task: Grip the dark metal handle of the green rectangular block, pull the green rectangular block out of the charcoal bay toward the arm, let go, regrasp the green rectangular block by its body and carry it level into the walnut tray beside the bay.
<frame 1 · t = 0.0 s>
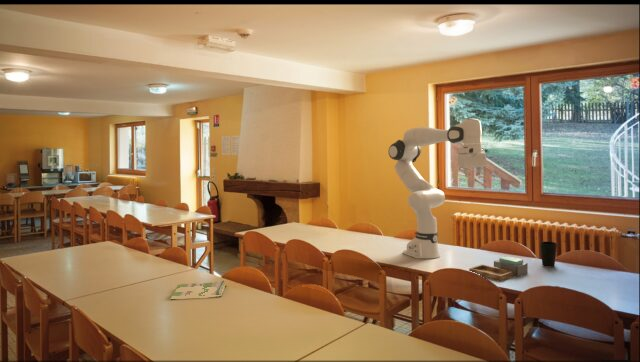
hand: (472, 176, 220), 48 cm above the table, tool pointing down, fingers open, 8 cm apart
cup: (548, 266, 221), on the table
bay: (512, 272, 211), on the table
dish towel: (199, 294, 197), on the table
tray: (491, 274, 209), on the table
green rectangular block: (511, 272, 212), on the table
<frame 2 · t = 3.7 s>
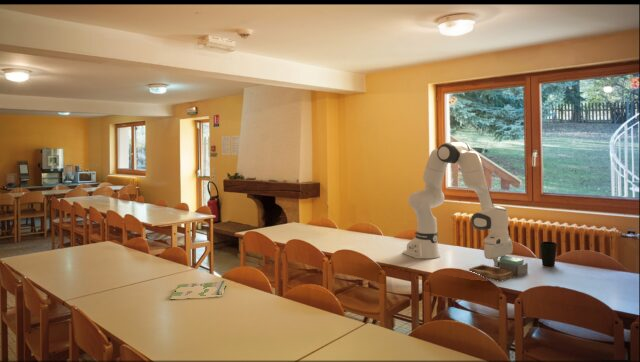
hand: (499, 264, 217), 3 cm above the table, tool pointing down, fingers closed on green rectangular block, 3 cm apart
green rectangular block: (511, 272, 212), on the table, touching gripper
everything else where it was.
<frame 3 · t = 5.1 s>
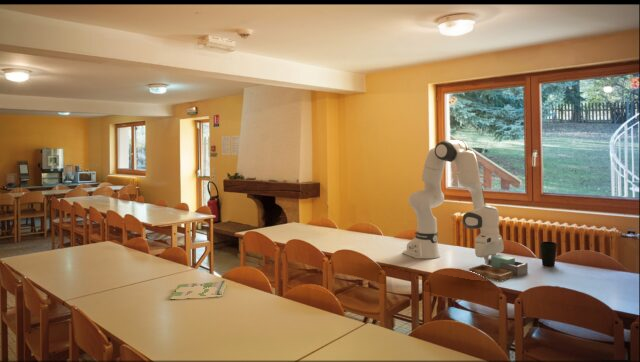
hand: (489, 262, 221), 2 cm above the table, tool pointing down, fingers closed on green rectangular block, 3 cm apart
green rectangular block: (503, 270, 215), on the table, touching gripper
everything else where it was.
when the fingers open (3 cm above the table, at t = 6.4 s): green rectangular block stays where it is, on the table.
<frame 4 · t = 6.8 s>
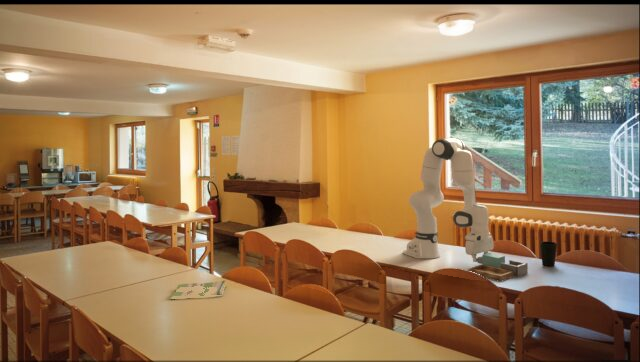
hand: (479, 260, 226), 3 cm above the table, tool pointing down, fingers open, 7 cm apart
green rectangular block: (493, 268, 220), on the table
everything else where it was.
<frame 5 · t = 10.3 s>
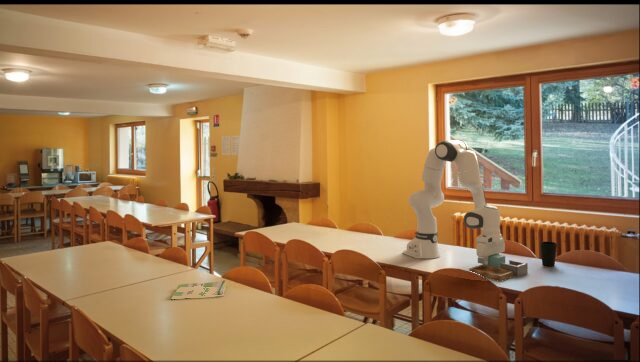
hand: (491, 262, 221), 3 cm above the table, tool pointing down, fingers closed on green rectangular block, 6 cm apart
green rectangular block: (493, 268, 220), on the table, touching gripper
everything else where it was.
when the fingers open (5 cm above the table, at t = 16.0 s): green rectangular block stays where it is, resting on tray.
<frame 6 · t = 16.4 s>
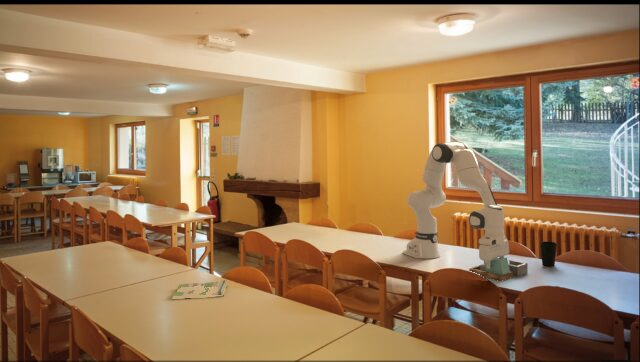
hand: (494, 266, 207), 5 cm above the table, tool pointing down, fingers open, 8 cm apart
green rectangular block: (498, 273, 206), point 2 cm above the table, tilted 13°, touching tray
everything else where it was.
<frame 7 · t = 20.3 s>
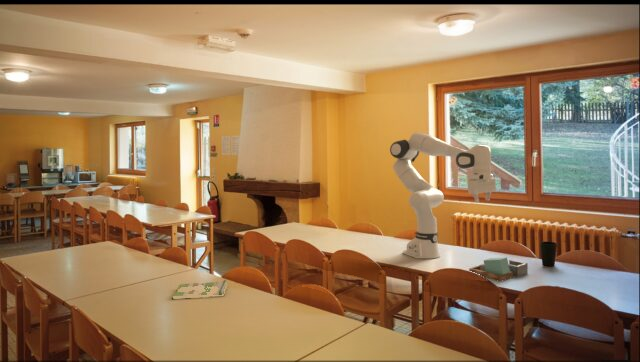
hand: (482, 201, 226), 34 cm above the table, tool pointing down, fingers open, 8 cm apart
nothing on the table moved.
at the end: green rectangular block inside the target area on the tray (2.8 cm from its centre), point 1.6 cm above the tray's base; green rectangular block tilted 13°; the gripper is holding nothing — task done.
